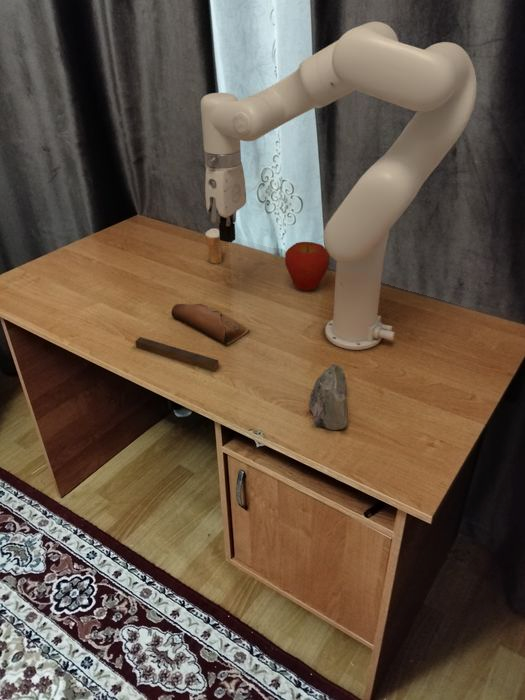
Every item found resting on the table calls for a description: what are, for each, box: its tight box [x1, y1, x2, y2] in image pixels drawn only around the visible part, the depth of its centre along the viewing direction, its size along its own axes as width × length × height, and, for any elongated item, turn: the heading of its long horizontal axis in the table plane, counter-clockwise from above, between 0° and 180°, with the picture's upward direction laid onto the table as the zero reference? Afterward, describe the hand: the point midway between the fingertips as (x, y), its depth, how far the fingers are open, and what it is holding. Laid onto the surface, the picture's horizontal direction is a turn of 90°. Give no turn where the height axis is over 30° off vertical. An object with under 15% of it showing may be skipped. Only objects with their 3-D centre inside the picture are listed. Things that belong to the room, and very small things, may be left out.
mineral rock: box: [308, 364, 349, 431], centre depth 106 cm, size 13×11×10 cm
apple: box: [284, 241, 330, 291], centre depth 143 cm, size 11×11×12 cm
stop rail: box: [134, 336, 220, 373], centre depth 122 cm, size 20×2×2 cm, turn 63°
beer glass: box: [203, 228, 223, 264], centre depth 156 cm, size 4×5×10 cm
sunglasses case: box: [170, 303, 249, 346], centre depth 131 cm, size 18×7×7 cm, turn 48°
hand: (227, 240), depth 130 cm, fingers closed
